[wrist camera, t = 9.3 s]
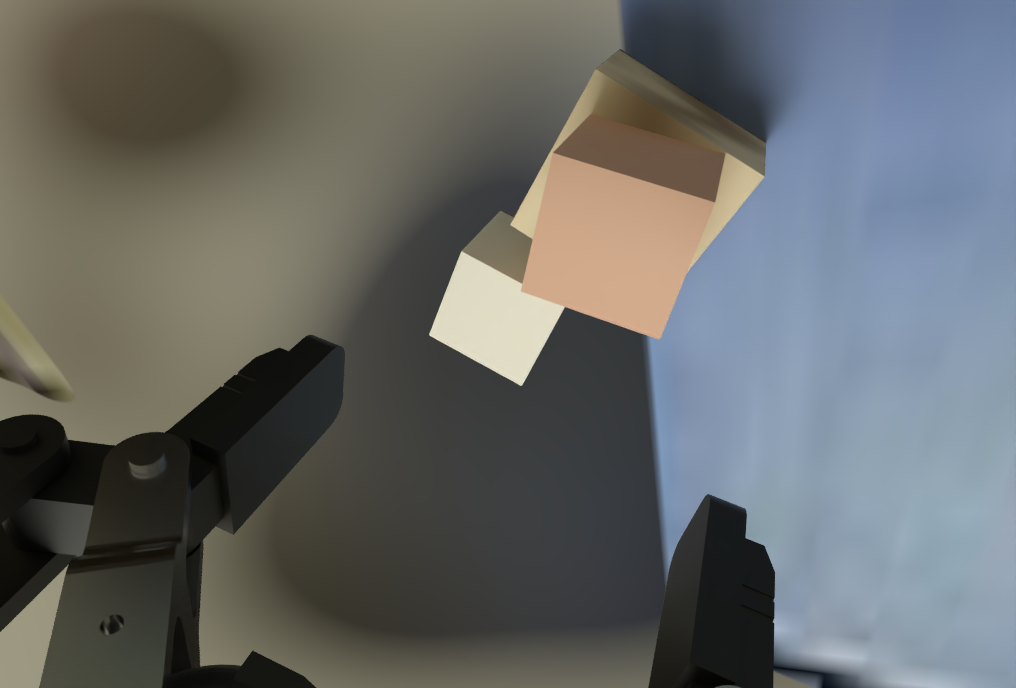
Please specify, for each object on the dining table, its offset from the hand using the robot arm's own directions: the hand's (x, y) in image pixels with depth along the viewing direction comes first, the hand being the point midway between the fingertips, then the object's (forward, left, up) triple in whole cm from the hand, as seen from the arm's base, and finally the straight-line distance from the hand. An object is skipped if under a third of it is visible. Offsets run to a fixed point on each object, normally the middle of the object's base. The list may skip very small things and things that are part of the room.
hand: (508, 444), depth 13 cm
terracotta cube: (0, 0, -14) cm, 14 cm away
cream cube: (+4, +7, -19) cm, 20 cm away
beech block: (0, 0, -19) cm, 19 cm away
